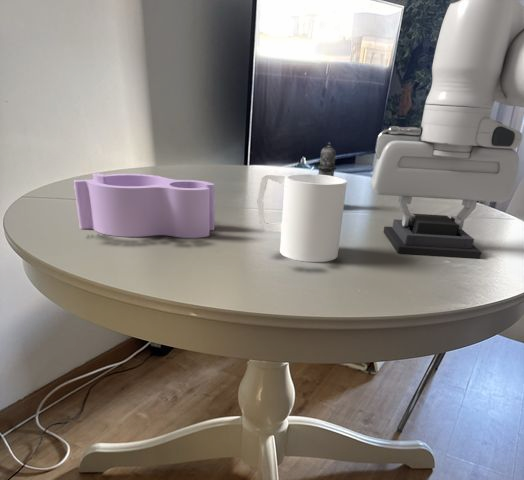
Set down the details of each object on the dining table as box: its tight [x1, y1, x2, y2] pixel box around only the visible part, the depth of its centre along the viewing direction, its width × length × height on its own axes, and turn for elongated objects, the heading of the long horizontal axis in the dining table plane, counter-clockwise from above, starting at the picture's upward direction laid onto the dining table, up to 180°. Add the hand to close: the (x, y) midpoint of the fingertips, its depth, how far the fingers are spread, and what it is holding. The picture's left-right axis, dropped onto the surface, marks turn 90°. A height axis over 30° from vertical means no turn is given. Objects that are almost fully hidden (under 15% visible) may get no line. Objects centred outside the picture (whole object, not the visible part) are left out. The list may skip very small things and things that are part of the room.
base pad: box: [383, 219, 483, 259], centre depth 74 cm, size 12×12×2 cm
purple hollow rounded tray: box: [73, 173, 216, 239], centre depth 74 cm, size 20×12×7 cm, turn 83°
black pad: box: [408, 212, 459, 236], centre depth 74 cm, size 6×6×3 cm
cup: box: [256, 173, 348, 263], centre depth 66 cm, size 8×12×10 cm
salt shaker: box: [317, 141, 337, 177], centre depth 93 cm, size 6×6×12 cm
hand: (431, 227), depth 74 cm, fingers closed on black pad, 6 cm apart
